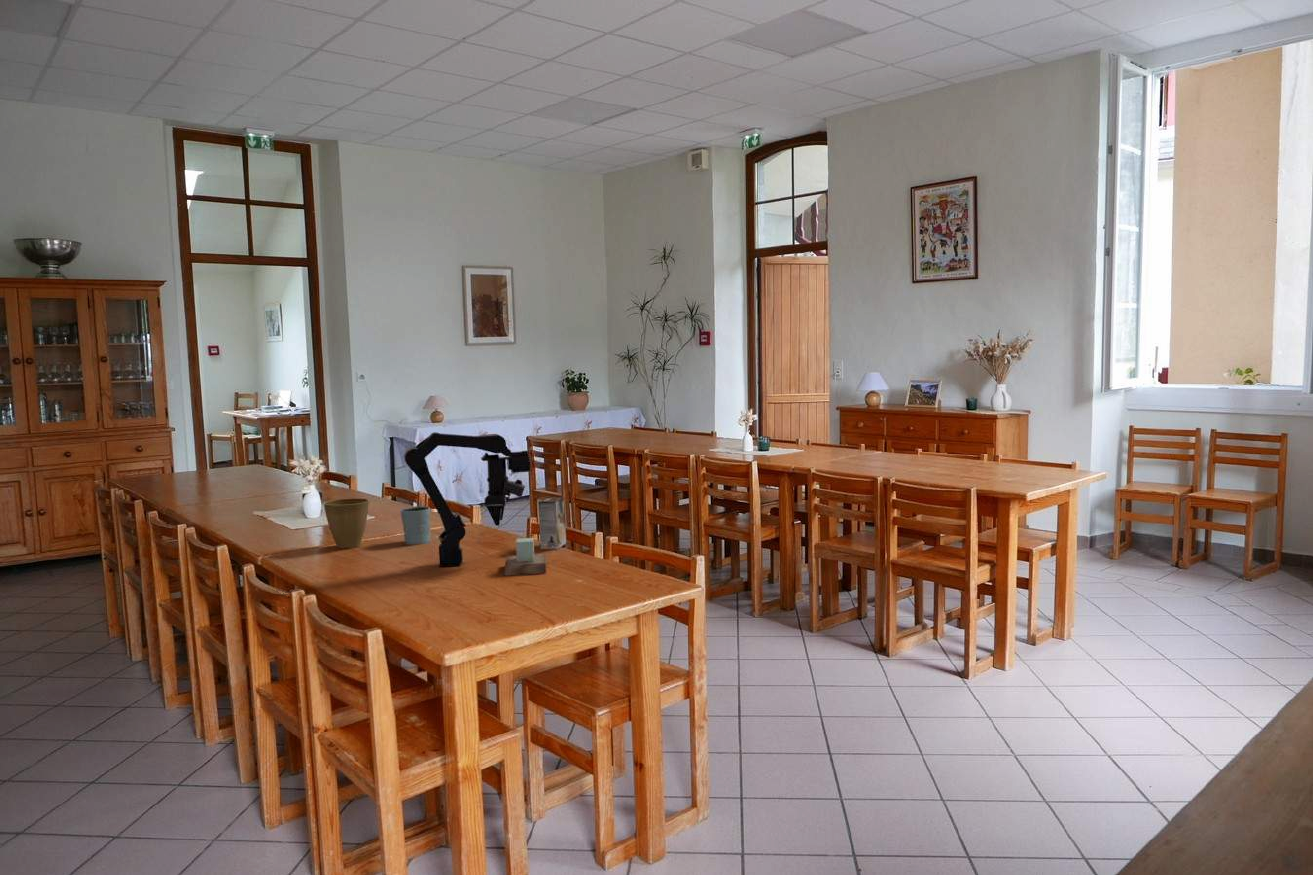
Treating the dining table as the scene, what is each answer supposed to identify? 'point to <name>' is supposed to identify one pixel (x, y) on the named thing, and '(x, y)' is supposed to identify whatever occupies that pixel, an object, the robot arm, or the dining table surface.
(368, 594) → the dining table surface
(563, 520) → the coffee box
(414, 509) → the blue-grey cup
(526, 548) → the sage block
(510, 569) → the grayish brown panel
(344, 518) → the plant pot
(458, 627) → the dining table surface
